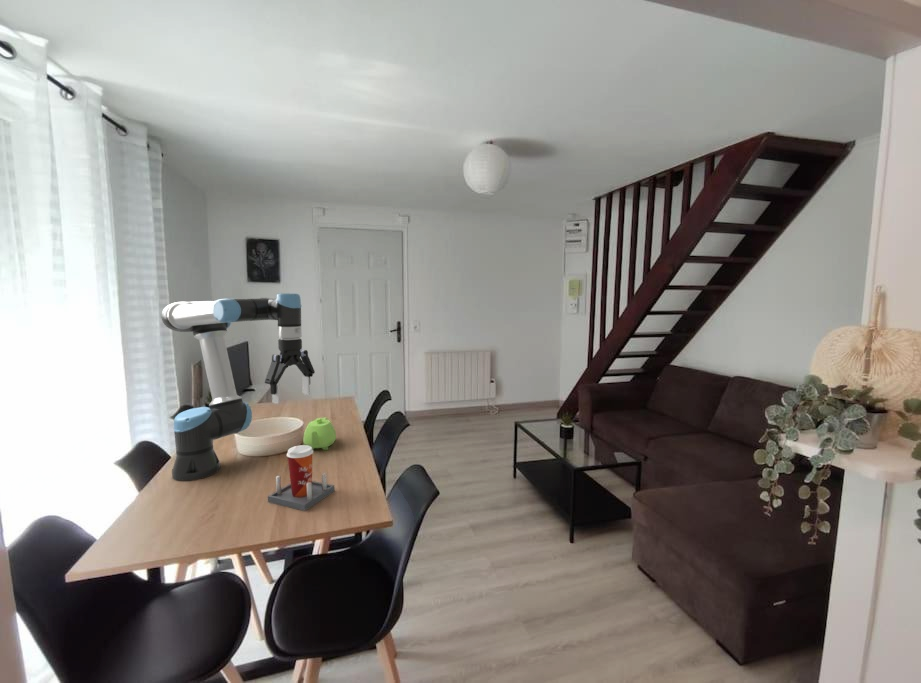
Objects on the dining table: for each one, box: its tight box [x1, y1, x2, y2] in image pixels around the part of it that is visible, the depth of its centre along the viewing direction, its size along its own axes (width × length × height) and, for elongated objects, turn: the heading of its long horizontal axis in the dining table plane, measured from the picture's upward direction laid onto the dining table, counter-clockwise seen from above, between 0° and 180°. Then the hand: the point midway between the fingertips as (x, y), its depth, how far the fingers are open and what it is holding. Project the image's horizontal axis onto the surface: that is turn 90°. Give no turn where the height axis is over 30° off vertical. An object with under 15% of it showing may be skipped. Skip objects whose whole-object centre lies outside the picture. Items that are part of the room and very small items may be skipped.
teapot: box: [302, 416, 337, 451], centre depth 179 cm, size 20×13×13 cm
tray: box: [267, 473, 336, 512], centre depth 135 cm, size 15×14×7 cm
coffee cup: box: [286, 444, 314, 497], centre depth 135 cm, size 8×8×15 cm
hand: (291, 398), depth 144 cm, fingers open, 13 cm apart
